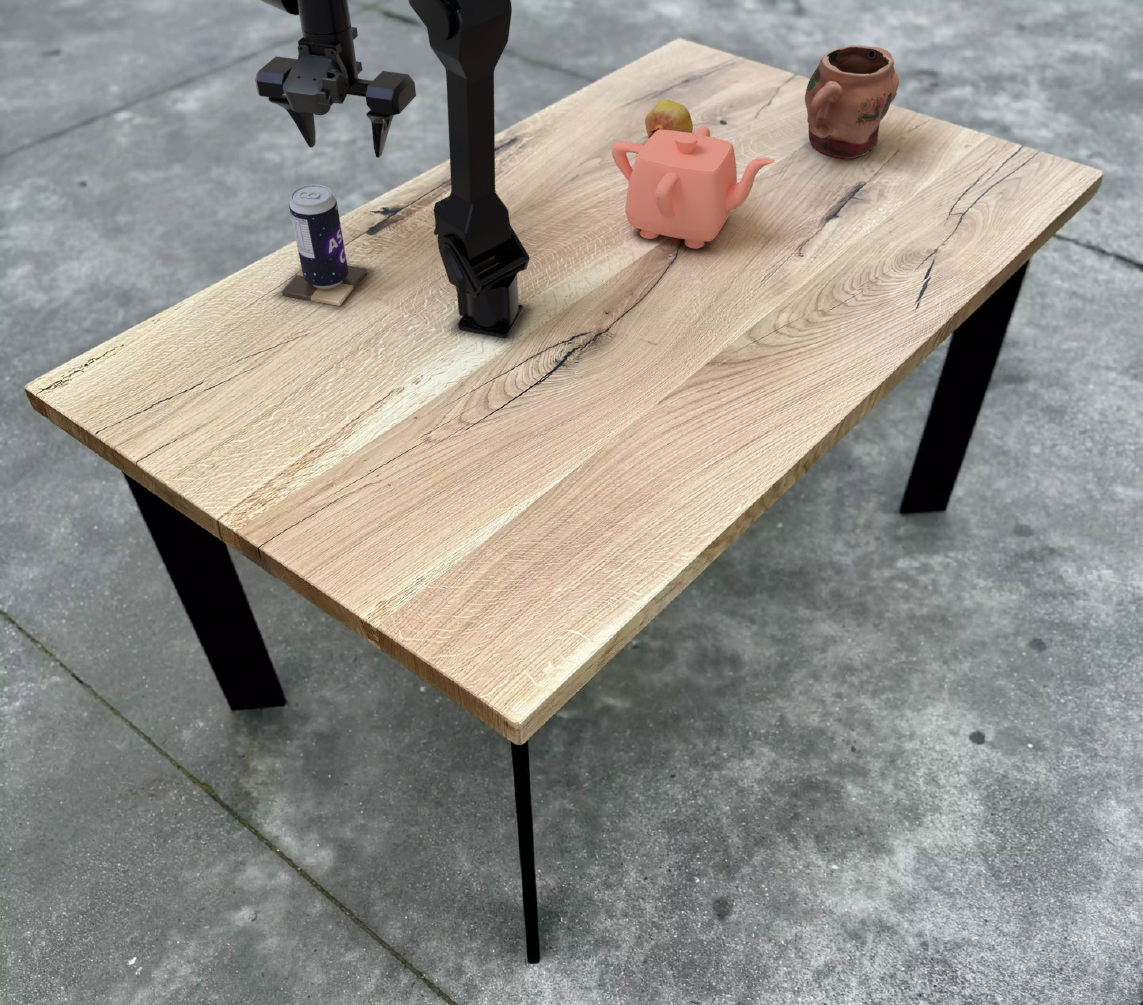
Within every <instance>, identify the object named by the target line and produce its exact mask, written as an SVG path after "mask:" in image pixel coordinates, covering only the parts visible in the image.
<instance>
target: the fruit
mask: <svg viewBox="0 0 1143 1005" xmlns="http://www.w3.org/2000/svg"><path fill="white" fill-rule="evenodd" d="M644 125H645V130H646V135H647V138H648V140H649V139H650V137H651V136H652V135H653V134H654V133H655V132H656V131H657V130H672V131H680V132H687V133H693V130H694V124H693V120H692V116H691V114H690V112H689V110H688V108H687V107H686V106H685V105H683V104H681V103H680V102H677V101H674V100H671V99H662V100H660V101H658V102H657V103H656V104H655V105H654V107H653V108H652V109H651V110H650V111H648V113H647V114H646V116H645V119H644Z"/></svg>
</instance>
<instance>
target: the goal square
mask: <svg viewBox="0 0 1143 1005" xmlns="http://www.w3.org/2000/svg"><path fill="white" fill-rule="evenodd" d="M347 266H348V275H347V277H346V278H345V279H344V280H343V281H342V283H341V284H339V285H338V286H336V287H333V288H328V289H321V288H317V287H314V286H313V285H312V284H310V283H308V282H307V281H305V279H304V277H303V272H302V268H301V269H300V270H299V271H298V272H297V273H296V275H295V276H294V277H293V278H292V279H291V281H290V282H288V284H287V285H286V286H285V287H284V288H283V290H282V291H281V294H282V296H284V297H289V298H295V299H299V300H306V301H311V302H315V303H322V304H327V305H331V306H337V307H341V306H342V304H343V303H344V302H345V300H346V299H347V298H348V297H349V296H350V294H351V293H352V292H353V291H354V289H355V288H356V287H357V286H358V284H359V283H360V282H361V280H362V279H363V278H364V277H365V275H366V274H367V273H368V272H367V271H368V270H367V268H364V267H359V266H354V265H348V264H347Z"/></svg>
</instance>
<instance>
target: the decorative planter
mask: <svg viewBox="0 0 1143 1005" xmlns="http://www.w3.org/2000/svg"><path fill="white" fill-rule="evenodd" d="M899 86H900V77H899V75H898V74H897V72H896V69H895V60H894V58H893V56H892V53H891V52H889V51H888V50H887V49H884V48H882V47H880V46H866V45H853V44H851V45H847V46H843V47H840V48H836V49H833V50H831V51H828V52H827V53H826V54H824V55H823V56H822V57H821V59H820V61H819V63H818V66H817V67H816V68H815V70H814V72H813V73H812V75H811V77H810V78H809V80H808V83H807V85H806V89H805V93H804V103H805V109H806V113H807V118H806V119H807V124H808V125H807V126H808V139H809V144H810V146H811V147H812V148H813V149H815V150H816V151H817V152H821V153H822V154H824V155H827V156H832V157H835V158H841V159H855V158H858V157H861V156H864V155H866V154H868V153H869V152H870V151H871V150H872V149H873V148H875V147H876V146H877V144H878V138H879V130H880V126H881V122H882V120H883V119H884V118H885V116H886V115H887V113H888V112H889V109H890V106H891V104H892V102H894V100H895V99H896V97H897V92H898V90H899V89H898V88H899Z"/></svg>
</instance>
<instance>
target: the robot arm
mask: <svg viewBox="0 0 1143 1005" xmlns="http://www.w3.org/2000/svg"><path fill="white" fill-rule="evenodd" d="M260 1H261V2H263V3H264V4H267V5H270V6H271V7H274V8H276V9H278V10H280V11H282V12H285V13H286V14H289V15H293V16H299V22H300V26H301V27H300V28H301V34H302V37H301V38H299V40H297V44H298V46H297V52H298V54H297V58H292V57H283V56H277V55H275V57H273V58H272V59H271V60H270V61H269V62H268V63H266V64H265V65H264V66H262V67H261V68H260V69H259V70H258V71H257V73H256V75H255V80H254V82H255V87H256V91H257V95H258V96H259V97H264V98H267V99H268V101H269V103H271V104H275V105H278V106H279V107H282V108H284V109H285V111H286V112H287V114H288V115H289V116H290V117H291V119H292V121H293V122H294V124H295V125H296V127H297V129H298V130H299V133H300V134H301V136H302V138H303V139H304V142H306V144H307V146H308V148H314V147H315V146H316V142H317V141H316V140H317V139H316V138H317V137H316V136H317V135H316V134H317V132H316V123H315V116H324V115H327V114H328V113H329V112H330V110H331V107H332V106H333V104H338V105H342V104H344V102H345V100H346V98H347V96H348V95H349V96H358V97H363V98H365V104H366V106H367V108H369V110H368V111H367V112H366V114H365V115H366V117H367V118H368V120H370V123H371V132H372V133H371V134H372V144H373V151H374V154H375V158H377V159H379V158H381V157H382V155H383V153H384V149H385V146H386V142H387V139H388V135H389V132H390V128H391V124H392V121H393V120H394V117H395V116H396V115H400V114H401V113H402V112H403V111H404V110H405V109H406V108H407V107H408V106H409V104H410V103H411V102H413V100H414V99H415V98H416V97H417V91H416V83H415V81H414V80H413V78H412V76H411V75H410V74H409V73H402V72H396V71H395V72H394V71H387V70H382V71H381V72H380V73H379V74H378V75H377V76H376V77H375V78H373V80H371V79H364V78H359V74H360V73H361V72H362V71H363V63H362V61H359V60H357V56H356V49H355V43H354V42H355V39H356V38H358V37H359V35H358V27H356V26H352V21H351V20H352V19H351V14H350V13H351V12H350V7H349V0H260ZM407 1H408V4H409V6H410V8H412V10H413V11H414V13H415V14H416V15H417V16H418V18H419V20H420V21H421V22H422V23H423V25H424V26H425V27H426V30H427V36H428V42H429V46H430V49H431V50H432V51H433V53H434V54H435V56H436V57H437V59H438V61H439V62H440V63H441V65H442V66H443V67H444V70H445V76H446V77H445V79H446V101H447V102H446V103H447V126H448V144H449V145H448V147H449V167H450V168H449V170H450V171H449V172H450V194H449V195H448V196H447V197H444V198H442V199H440V200H438V201H436V202H435V203H434V204H433V205H434V206H433V216H434V231H433V234H434V236H437V247H438V252H439V255H440V257H441V261H442V263H443V267H444V271H445V273H446V276H447V279H448V283H449V284H450V285H453V286H454V287H455V291H456V298H457V310H458V315H459V317H461V318H460V319H459V321H458V322H457V328H458V329H459V330H464V331H470V332H475V333H480V334H485V335H490V336H495V337H501V338H507V337H509V335H510V334H511V332H512V330H513V328H514V327H515V325H516V324H517V322H518V320H519V319H520V317H521V315H522V313H523V312H524V305H523V304H520V303H519V287H518V273H520V272H522V271H523V272H524V271H525V270H527V269H528V266H529V263H530V260H531V259H530V255H529V253H528V251H527V250H526V249H525V246H524V245H523V243H522V241H521V240H520V238H519V237H518V234H516V231H515V230H514V228H513V227H512V225H511V220H510V213H509V209H508V207H507V206H506V205H505V203H504V202H503V200H502V199H501V197H500V196H499V195H498V193H497V192H496V148H495V147H496V146H495V145H496V137H495V136H496V132H495V131H496V130H495V129H496V128H495V70H496V67H497V65H498V63H499V61H500V59H501V57H502V55H503V53H504V50H505V48H506V46H507V45H508V42H509V36H510V28H511V21H512V13H513V10H512V9H513V8H512V0H407Z"/></svg>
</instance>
